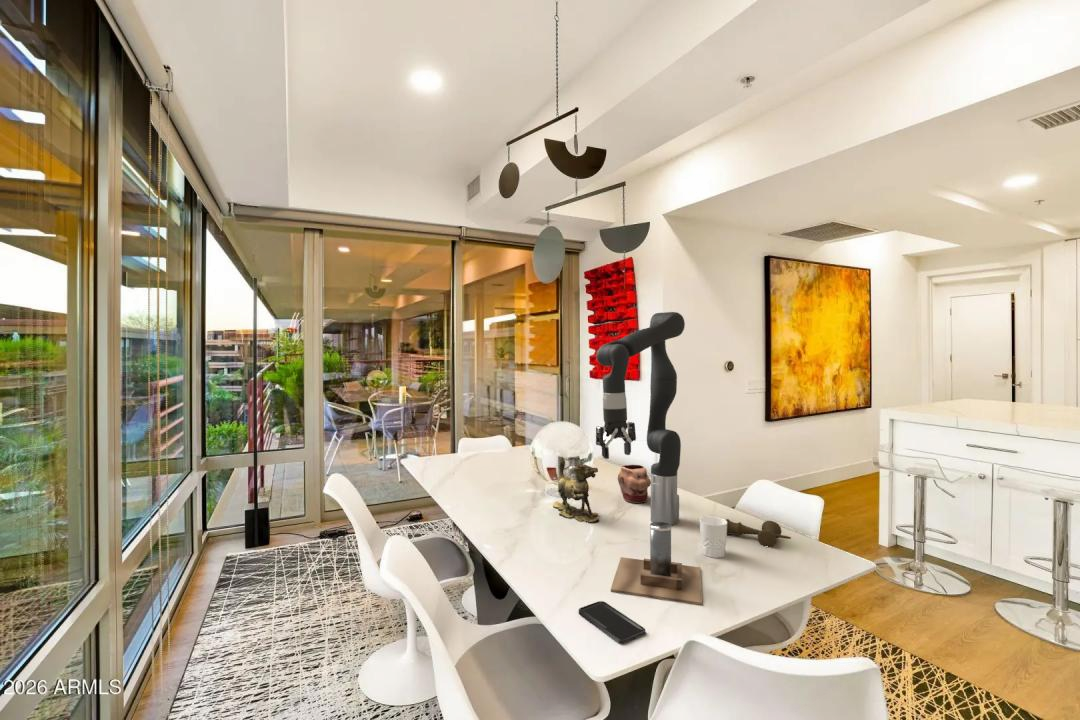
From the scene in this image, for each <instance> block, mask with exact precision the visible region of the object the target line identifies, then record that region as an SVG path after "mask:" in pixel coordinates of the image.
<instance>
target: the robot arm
mask: <svg viewBox="0 0 1080 720" xmlns="http://www.w3.org/2000/svg"><path fill="white" fill-rule="evenodd" d="M685 325H686V323H685V318H684V316H683V315H682V314H681V313H679V312H676V311H667V312H657V313H654V314H652V316H651V318H650V321H649V327H646V328H642V329H639V330H638V329H637V330H635V331H634V332H632V333H629V334H627V335H625V336H624V337H622V338H620V339H615V340H612V341H609V342H607V343H605V344H602V345H601V346H600V347H599V348H598V350H597V352H596V356H595V358H596V361H597V362H598V364H599V365H601V366H602V367H611V371H610V373H607V374H604V375H603V377H602V390H603V391H602V393H603V394H602V395H603V396H602V411H603V413H602V414H603V421H604V425H603V426H599V425H598V426H596V427H595V445H596V446H600V447H601V456H602V458H603V459H605V460H608V459H610V452H609V451H610V449H609V446H610V444H611V442H612V441H613V440H615V439H617V438H620V439H622V441H623V452H624V455H625V456H630V455H631V453H632V443H633V442H634V441H636V440H637V435H636V424H635V422H633V421H628V409H627V407H628V405H627V404H628V403H627V395H626V382H625V380H626V375H627V371H628V366H629V361H630V358H632V357H634V356H636V355H638V354H641V352H643V351H644V350H646V349H649V348H650V352H651V353H650V354H651V355H650V359H651V361H650V362H651V363H650V364H651V365H650V368H651V369H650V371H651V372H650V385H649V386H650V388H649V389H650V400H649V414H648V425H647V430H646V431H647V432H646V433H647V434H646V445H647V448H648V450H650V452H651V453H655V454H659V460H658V462H655V463H653V464H652V465H651V467H650V480H651V484H650V522H651V523H653V522H665V523H668V524H670V525H671V526H673V525H676V524H677V523H678V522H680V495H679V494H678V471H679V467H680V464H681V462H680V461H681V449H682V448H681V446H682V445H681V443H682V442H681V437H680V435H679V434H678V432H676V431H675V430H671V429H666V422H667V421H666V420H667V414H668V412H669V409H670V407H671V405H672V403H673V402H674V399H675V397H676V394H677V390H678V389H677V386H678V385H677V384H678V380H677V379H678V376H677V375H678V374H677V370H676V369H675V367H674V365H673V362H672V361H671V359H670V357H669V356H668V353H667V345H666V341H667V340H670V339H675V338H677V337H679V336H681V335H682V334H683V332H684V330H685ZM627 421H628V422H627Z"/></svg>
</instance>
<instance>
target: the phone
mask: <svg viewBox="0 0 1080 720" xmlns="http://www.w3.org/2000/svg"><path fill="white" fill-rule="evenodd" d="M578 615H579V616H581V617H582V618H583V619H585V620H586V621H587V622H589V623H590V624H591V625H592V626H594V627H595V628H596V629H598V630H599V631H600V632H602V633H603V634H605V635H606V636H607V637H609V638H610V639H611V640H613V641H614V642H615V643H616V644H618V645H626V644H628V643H630V642H633V641H634V640H637V639H639V638H642V637H643V636H645V635H646V629H645V627H643V626H642V625H641V624H639V623H637V622H636V621H635V620H633V619H632V618H630V617H628V616H627V615H625V614H624V613H622V612H620V611H619V610H618V609H616V608H615V607H614V606H612V605H610V604H609V603H608V602H605V600H604V601H603V600H599V601H595V602H593V603H590V604H587V605H584V606H581V607H579V608H578Z"/></svg>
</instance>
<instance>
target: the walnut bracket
mask: <svg viewBox="0 0 1080 720" xmlns="http://www.w3.org/2000/svg"><path fill="white" fill-rule="evenodd" d="M615 571H616V572H615V575H614V578H613V581H612V584H611V587H610V592H611V593H617V594H618V593H619V594H624V595H631V596H637V597H638V596H639V597H647V598H653V599H658V600H663V601H664V600H665V601H671V602H672V601H673V602H677V603H678V602H679V603H685V604H691V605H697V606H703V596H702V595H703V594H702V591H703V590H702V578H701V566H700V567H699V566H692V565H687V564H686V565H684V564H683V563H682V562H681V563H680V562H675V561H671V577H668V576H661V575H653V574H650V558H643V559H638V558H630V557H622V556H621V557H620V559H619V562H618V565H617V568H616V570H615Z"/></svg>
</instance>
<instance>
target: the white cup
mask: <svg viewBox="0 0 1080 720" xmlns="http://www.w3.org/2000/svg"><path fill="white" fill-rule="evenodd" d="M726 520H727V519H724V518H722V517H718V516H712V515H711V516H710V515H706V516H701V517H700V518H699V535H700V536H699V537H700V551H701V553H702V555H704V556H707V557H709V558H714V559H720V558H724V557H725V555H726V547H727V536H728V535H727V521H726Z"/></svg>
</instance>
